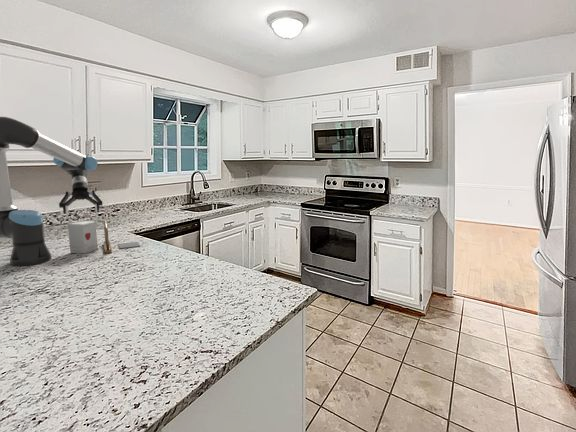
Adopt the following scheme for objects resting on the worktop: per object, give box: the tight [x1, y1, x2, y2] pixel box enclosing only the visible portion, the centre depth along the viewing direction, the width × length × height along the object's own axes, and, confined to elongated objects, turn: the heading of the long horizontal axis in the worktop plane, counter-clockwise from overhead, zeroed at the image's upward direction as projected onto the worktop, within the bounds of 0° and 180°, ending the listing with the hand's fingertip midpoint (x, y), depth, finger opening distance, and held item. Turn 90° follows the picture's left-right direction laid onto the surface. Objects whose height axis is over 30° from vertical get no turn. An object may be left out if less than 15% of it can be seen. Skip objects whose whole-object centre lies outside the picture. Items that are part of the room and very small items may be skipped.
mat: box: [118, 241, 141, 250], centre depth 184 cm, size 10×10×1 cm
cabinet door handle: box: [103, 220, 113, 254], centre depth 178 cm, size 3×22×15 cm, turn 30°
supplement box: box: [67, 220, 98, 254], centre depth 173 cm, size 9×9×15 cm
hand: (82, 215), depth 180 cm, fingers open, 13 cm apart
